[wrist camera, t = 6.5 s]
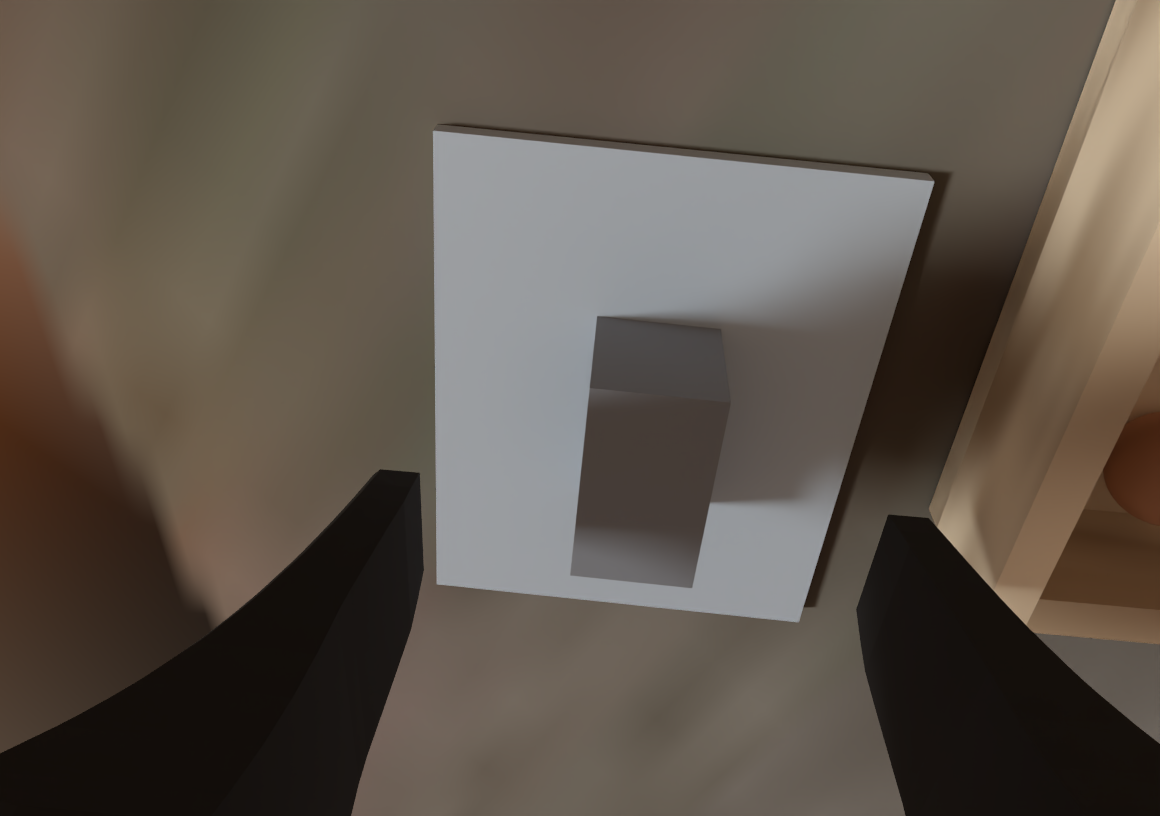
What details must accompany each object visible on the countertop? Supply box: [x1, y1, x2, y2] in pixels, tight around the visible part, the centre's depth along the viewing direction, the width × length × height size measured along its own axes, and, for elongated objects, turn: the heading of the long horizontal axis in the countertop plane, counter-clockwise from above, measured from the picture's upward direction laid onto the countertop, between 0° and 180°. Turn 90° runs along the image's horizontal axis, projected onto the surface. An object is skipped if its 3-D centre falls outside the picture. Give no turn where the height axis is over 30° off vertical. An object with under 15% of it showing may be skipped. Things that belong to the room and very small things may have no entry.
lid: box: [433, 124, 935, 622], centre depth 17 cm, size 10×8×3 cm
